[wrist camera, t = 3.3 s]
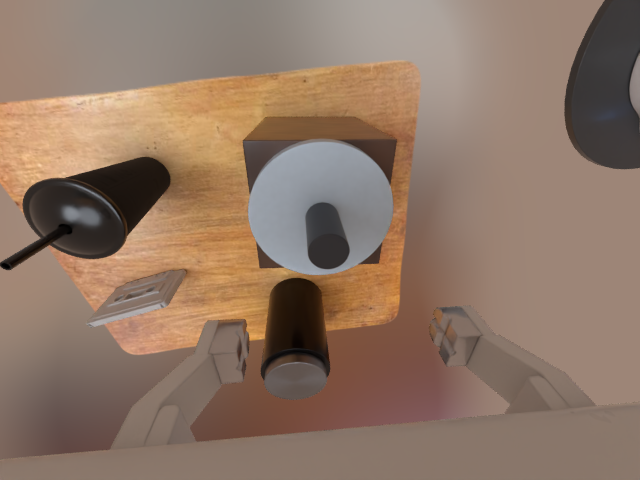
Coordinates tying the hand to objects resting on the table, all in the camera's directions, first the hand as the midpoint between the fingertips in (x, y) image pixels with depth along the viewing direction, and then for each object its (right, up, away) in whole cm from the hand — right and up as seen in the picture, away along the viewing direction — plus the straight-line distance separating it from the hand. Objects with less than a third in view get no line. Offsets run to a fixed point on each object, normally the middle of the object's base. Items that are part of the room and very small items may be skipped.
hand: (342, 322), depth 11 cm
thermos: (-5, -7, +36) cm, 37 cm away
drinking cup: (-23, +12, +23) cm, 35 cm away
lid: (-1, +6, +10) cm, 12 cm away
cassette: (-28, -3, +32) cm, 42 cm away
